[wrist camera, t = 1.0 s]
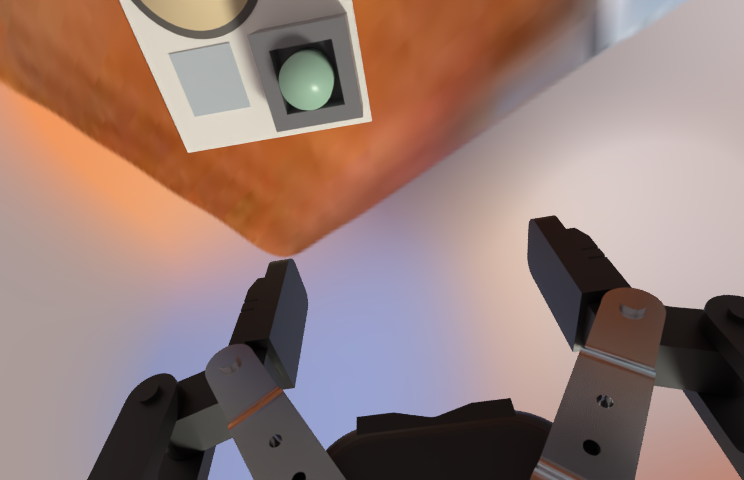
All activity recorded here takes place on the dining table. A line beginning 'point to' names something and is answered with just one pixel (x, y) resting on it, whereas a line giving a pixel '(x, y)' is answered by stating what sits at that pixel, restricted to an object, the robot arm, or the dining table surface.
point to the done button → (307, 79)
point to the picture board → (223, 63)
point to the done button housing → (326, 37)
